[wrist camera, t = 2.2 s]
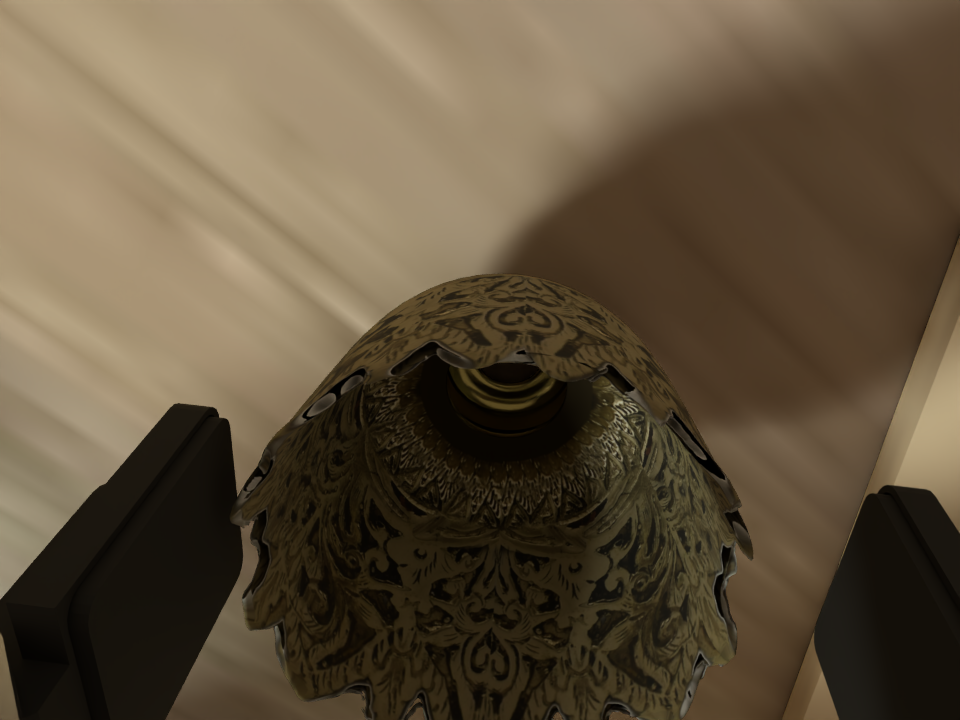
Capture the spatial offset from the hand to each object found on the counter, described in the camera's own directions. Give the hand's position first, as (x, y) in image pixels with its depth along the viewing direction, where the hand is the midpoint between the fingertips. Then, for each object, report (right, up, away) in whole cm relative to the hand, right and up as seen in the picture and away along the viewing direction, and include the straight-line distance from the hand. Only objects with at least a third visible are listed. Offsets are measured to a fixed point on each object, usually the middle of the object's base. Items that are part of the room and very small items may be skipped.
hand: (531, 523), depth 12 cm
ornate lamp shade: (0, +3, +7) cm, 7 cm away
